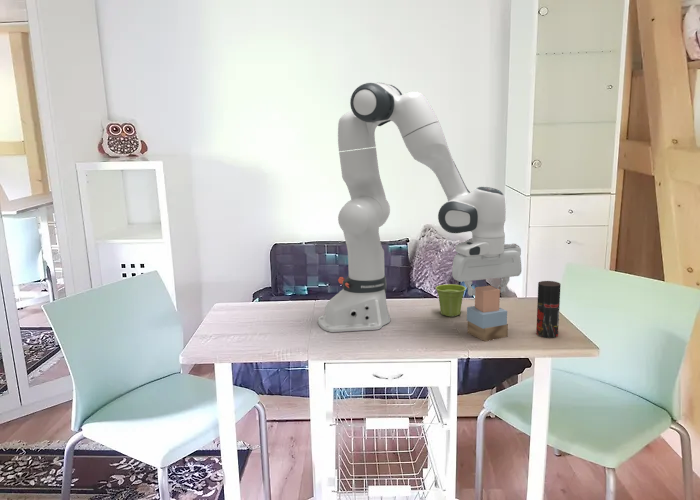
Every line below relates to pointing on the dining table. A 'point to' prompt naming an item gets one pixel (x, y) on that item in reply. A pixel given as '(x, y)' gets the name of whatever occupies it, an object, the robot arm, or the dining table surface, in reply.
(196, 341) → the dining table surface
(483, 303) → the terracotta block
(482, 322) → the tower top
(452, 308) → the plant pot
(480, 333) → the tower base
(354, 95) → the robot arm
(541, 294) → the deodorant
